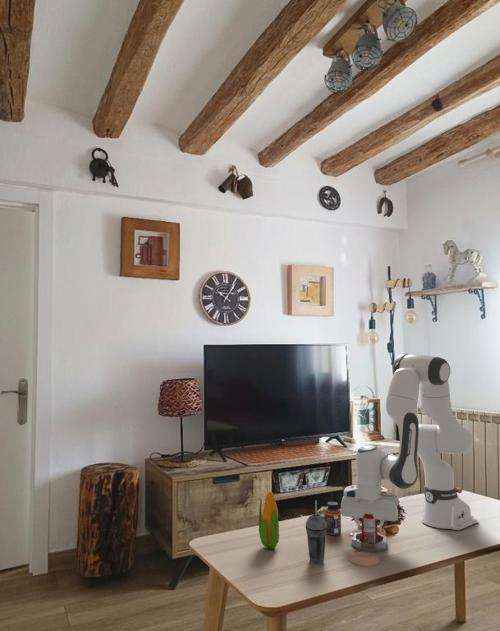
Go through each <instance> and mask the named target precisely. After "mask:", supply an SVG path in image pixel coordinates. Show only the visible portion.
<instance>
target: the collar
mask: <svg viewBox="0 0 500 631" xmlns="http://www.w3.org/2000/svg"><path fill="white" fill-rule="evenodd" d="M349 536H350V537H351V546H352V547H354V548H356V549H358V550H360V551H361V552H369V553H371V552H372V553H377V552H381V551H385V550H387V547H388V545H387V544H388V537H387V536H386V535H383V534H382V533H381V532H377V536H378V542H377V543H367V542H362V530H360V531H358V532H353V533H349Z"/></svg>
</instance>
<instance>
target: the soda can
mask: <svg viewBox="0 0 500 631" xmlns="http://www.w3.org/2000/svg"><path fill="white" fill-rule="evenodd" d="M360 519H361V524H362V530H361V531H362V540H361V541H362V542H367V543H377V542H378V536H377V525H378V520H377V519H374V517H373V513H365V515H364V517H363V518H360Z"/></svg>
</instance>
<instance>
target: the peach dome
mask: <svg viewBox="0 0 500 631" xmlns="http://www.w3.org/2000/svg"><path fill="white" fill-rule="evenodd" d="M348 561H349V562H351V563H352V564H354V565H357V566H361V567H374V566H377V565H378V564H380V557H379V556H378V555H376V554H374V553H373V552H372V553H371V552H369V551H357V552H352V553H350V554H349V556H348Z"/></svg>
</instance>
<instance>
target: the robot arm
mask: <svg viewBox="0 0 500 631" xmlns="http://www.w3.org/2000/svg"><path fill="white" fill-rule="evenodd" d="M392 367H393V368H392V370H393V375H392V378H391V380H390V382H389V383H390V384H389V387H388V390H387V396H386V400H385V411H386V413H387V415H388V417H389V418H390V419H392V421H394V423H395V424H396V425H397V427H398V429H399V434H400V435H399V436H400V437H399V449H398V455H396V454H393V453H390V452H387V451H384V450H382V449H381V448H379V447H378V446H377V445H373V444H368V445H363V446H360V447H359V448H358V449H357V450H356V454H355V473H356V479H355V484H351V485H349V486H346V487H345V488H344V489H343V497H342V499H341V503H340V511H341V517H349V518H354V519H353V520H354V522H355V524H356V526H357V530H358V531H362V523H360V521H359V520H360V519H361V518H363V517H364V515H365V513H373V517H374V519H377V521H378V520H379V525H378V524H377V532H378V533H382V527H383V525H384V524H385V521H389V522H396V521H397V520H398V519H399V511H398V506H399V505H400V504H399V503H400V502H399V501H400V500H399V497H398V496H397V495H396V494H395V493H392V492H391V493H387V492H382V481H387V482H389V483H391V484H392V485H394V486H396V487H397V488H398V489H401V490H407V489H409V488H411V487H412V486H414V485H415V484H416V482H417V480H418V478H419V468H418V467H419V466H418V461H417V460H418V457H419V458H420V461H421V463H422V466H423V472H424V485H423V494H424V498H423V509H422V513H421V522H422V523H424V524H425V525H427V526H430V527H433V528H437V529H448V530H455V531H460V530H462V529H465V528H467V527H469V526H471V525H474V524H476V523H478V519H477V518H476V517H475V516H473V515H472V513H471V507H470V506H469V504H467V502H465V501H464V500H463V499H462V498H460V497H459V495H458V494H462V493H463V489H462V488H461V487H457V486H456V487H455V471H454V469H453V467H452V465H451V464H449V462H447V461H445V460H443V459H442V458H441V457H440V456H439V454H440V453H441V454H452V455H461V454H462V455H463V454H468V453H469V452H470V451H471V449H472V447H473V444H474V439H473V436H472V434H471V432H470V431H469V429H468V428H466V427H465V426H463V425H462V424H461V423H460V422H459V420H457V418H456V417H455V414H454V413H453V408H452V402H451V393H450V384H449V378H450V376H451V366H450V364H449V362H448V361H447V360H446V359H444V358H442V357H439V356H432V355H428V354H415V353H414V354H411V353H402V354H399V355H397V356H396V358H395V359H394V361H393V366H392ZM419 394H420V402H421V411H422V413H423V414H424V415H425V416H426V417H427V418H429V419H430V420H432V421H433V422H435V423H436V424H429V423H420V421H419V419H418V418H419V417H418V414H417V413H418V412H417V411H418V409H417V408H418V402H419V401H418V400H419ZM438 453H439V454H438Z"/></svg>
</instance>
